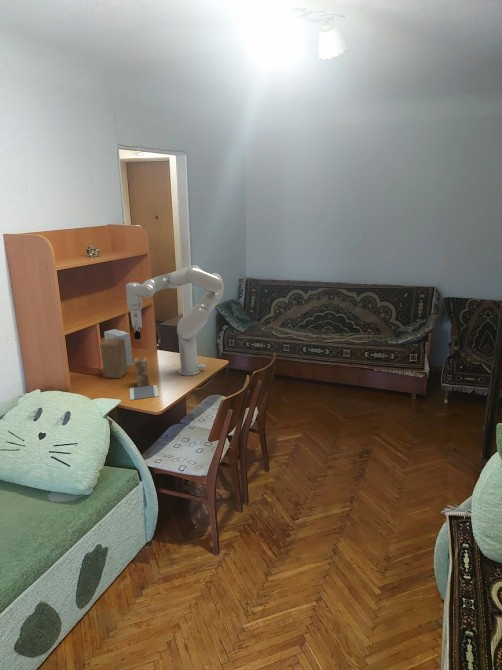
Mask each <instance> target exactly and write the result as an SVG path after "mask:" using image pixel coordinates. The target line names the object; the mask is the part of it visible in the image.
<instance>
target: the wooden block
mask: <svg viewBox="0 0 502 670" xmlns="http://www.w3.org/2000/svg"><path fill="white" fill-rule="evenodd" d="M99 346H100V347H99V348H100V353H101V354H100V355H101V361H102V371H103V377H104V378H111V379H121V378H123V376H125V375H126V374H127V373H128V372H129V369H128V367H127V360H126V351H125V342H124V339H107V340H106V341H105V340H103V341H102V342H101V343H100V345H99Z"/></svg>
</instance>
